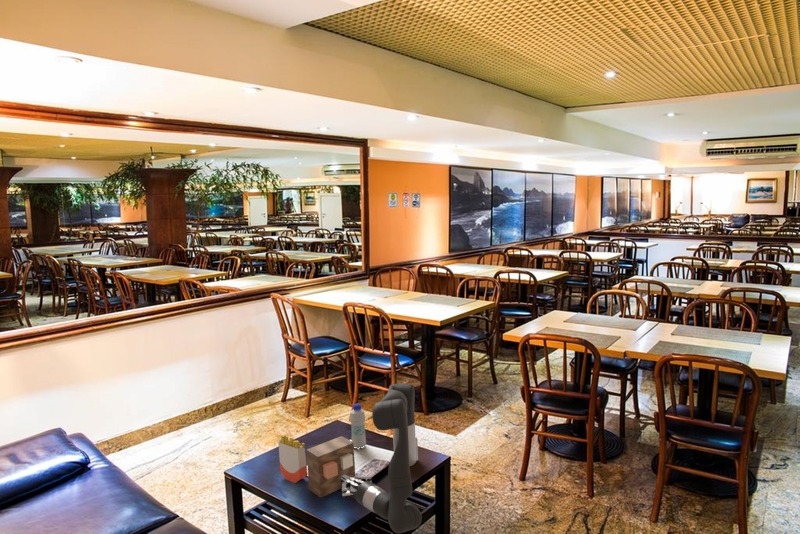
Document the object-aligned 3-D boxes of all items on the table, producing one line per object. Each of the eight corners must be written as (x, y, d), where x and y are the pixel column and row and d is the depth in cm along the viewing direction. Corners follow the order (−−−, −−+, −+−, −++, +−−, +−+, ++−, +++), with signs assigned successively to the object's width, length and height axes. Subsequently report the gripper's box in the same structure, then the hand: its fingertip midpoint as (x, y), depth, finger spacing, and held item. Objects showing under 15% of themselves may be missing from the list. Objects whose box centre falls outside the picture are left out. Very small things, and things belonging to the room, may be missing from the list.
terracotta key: (331, 470, 198) (331, 459, 198) (337, 474, 195) (337, 463, 195) (321, 475, 195) (321, 464, 195) (327, 479, 192) (327, 467, 192)
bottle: (369, 447, 233) (367, 403, 230) (357, 452, 228) (355, 408, 226) (360, 442, 238) (358, 399, 235) (348, 447, 233) (346, 404, 231)
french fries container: (289, 472, 214) (286, 430, 211) (308, 479, 207) (305, 436, 205) (280, 477, 210) (277, 434, 208) (299, 485, 204) (296, 441, 201)
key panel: (343, 474, 211) (341, 436, 209) (355, 481, 205) (353, 442, 203) (309, 489, 200) (306, 449, 198) (320, 497, 194) (317, 456, 192)
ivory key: (346, 462, 205) (346, 451, 204) (353, 465, 202) (352, 454, 201) (337, 466, 202) (336, 455, 201) (343, 469, 199) (342, 458, 198)
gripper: (387, 479, 180) (356, 461, 193) (355, 494, 171) (326, 474, 184) (388, 499, 181) (357, 480, 194) (356, 516, 172) (327, 494, 185)
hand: (342, 477), depth 189 cm, fingers closed
